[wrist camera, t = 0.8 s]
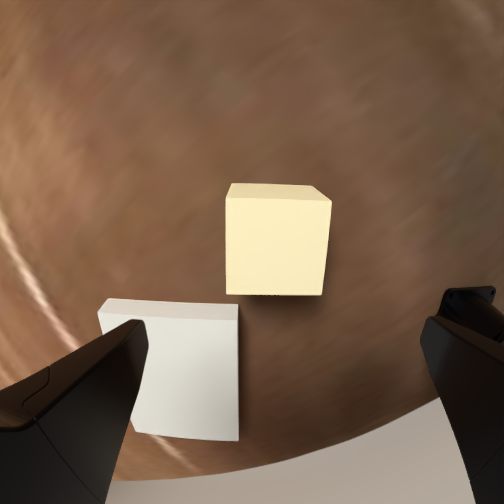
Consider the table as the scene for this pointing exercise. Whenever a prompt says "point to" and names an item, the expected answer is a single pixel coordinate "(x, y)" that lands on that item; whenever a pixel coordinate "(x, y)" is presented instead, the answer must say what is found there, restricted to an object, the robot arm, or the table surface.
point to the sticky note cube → (276, 239)
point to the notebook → (184, 367)
